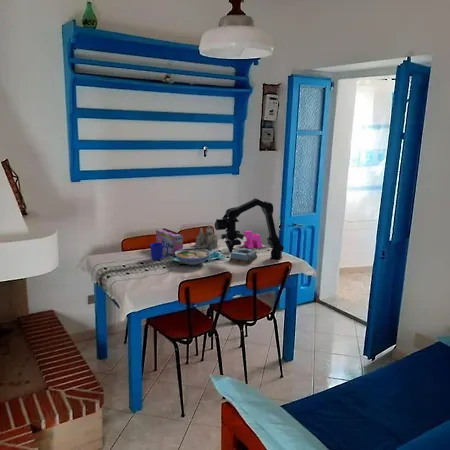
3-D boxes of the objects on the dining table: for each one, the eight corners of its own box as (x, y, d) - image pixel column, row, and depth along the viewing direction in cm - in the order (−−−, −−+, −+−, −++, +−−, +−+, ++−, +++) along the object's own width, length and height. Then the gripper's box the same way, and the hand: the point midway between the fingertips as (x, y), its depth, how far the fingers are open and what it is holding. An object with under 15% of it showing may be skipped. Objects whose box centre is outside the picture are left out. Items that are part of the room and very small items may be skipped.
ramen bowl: (176, 270, 276) (176, 258, 274) (170, 259, 297) (170, 247, 295) (215, 267, 282) (215, 255, 280) (207, 256, 304) (207, 245, 302)
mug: (166, 261, 293) (166, 246, 290) (148, 260, 295) (148, 245, 293) (170, 257, 301) (170, 243, 298) (153, 256, 303) (152, 242, 301)
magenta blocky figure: (244, 244, 334) (244, 231, 332) (257, 243, 337) (257, 230, 335) (248, 249, 323) (249, 235, 321) (262, 248, 326) (262, 234, 323)
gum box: (154, 247, 323) (154, 229, 320) (164, 245, 328) (163, 227, 325) (174, 255, 306) (173, 236, 303) (183, 253, 311) (183, 234, 308)
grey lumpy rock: (194, 243, 335) (194, 224, 330) (215, 243, 338) (216, 224, 334) (197, 250, 320) (197, 230, 316) (219, 250, 324) (220, 230, 319)
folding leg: (251, 259, 292) (251, 253, 291) (249, 260, 289) (250, 255, 288) (232, 256, 297) (232, 251, 297) (230, 257, 295) (230, 252, 294)
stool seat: (257, 258, 302) (257, 250, 301) (249, 264, 290) (250, 255, 289) (237, 255, 308) (237, 247, 306) (229, 261, 295) (230, 253, 294)
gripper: (248, 231, 279) (248, 255, 283) (236, 224, 296) (236, 247, 300) (232, 232, 275) (232, 257, 279) (221, 225, 292) (220, 248, 296)
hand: (230, 252), depth 288 cm, fingers closed
